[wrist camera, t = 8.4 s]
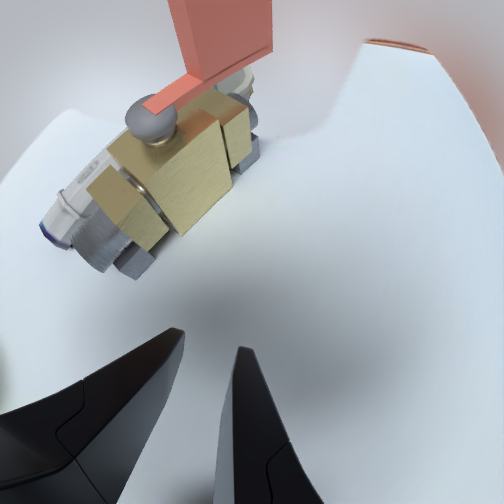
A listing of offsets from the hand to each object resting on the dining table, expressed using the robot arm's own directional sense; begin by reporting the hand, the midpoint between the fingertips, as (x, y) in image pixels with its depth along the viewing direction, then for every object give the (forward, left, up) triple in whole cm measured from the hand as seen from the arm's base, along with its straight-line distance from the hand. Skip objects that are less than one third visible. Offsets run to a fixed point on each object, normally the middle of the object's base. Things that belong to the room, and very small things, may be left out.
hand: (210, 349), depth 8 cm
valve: (+6, +12, -13) cm, 19 cm away
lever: (+10, +12, -4) cm, 16 cm away
